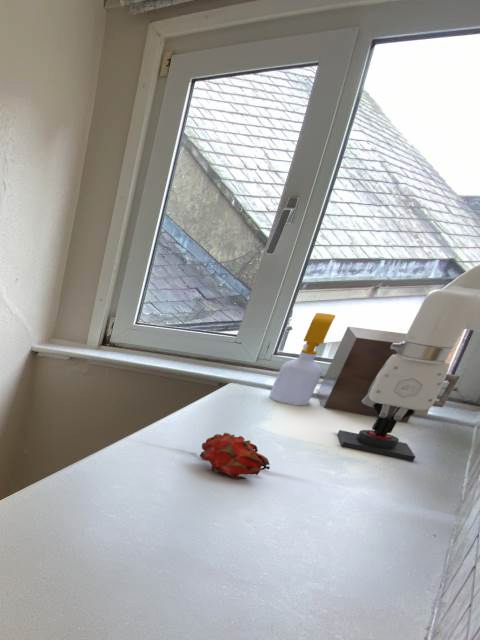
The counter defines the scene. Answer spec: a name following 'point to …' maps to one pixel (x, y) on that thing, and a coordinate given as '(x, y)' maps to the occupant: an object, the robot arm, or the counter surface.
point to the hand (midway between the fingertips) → (379, 434)
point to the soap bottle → (302, 367)
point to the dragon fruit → (233, 455)
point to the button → (379, 435)
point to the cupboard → (357, 369)
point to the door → (445, 395)
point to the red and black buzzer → (376, 444)
